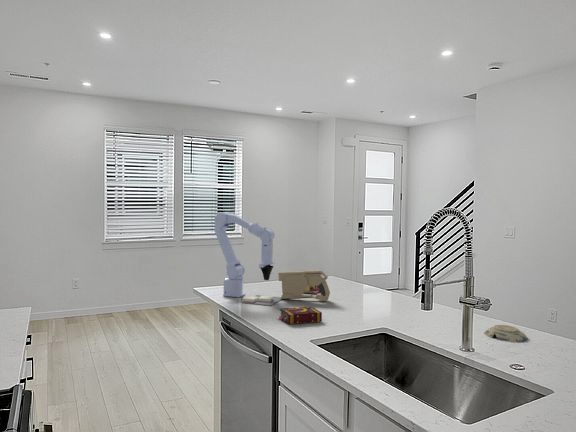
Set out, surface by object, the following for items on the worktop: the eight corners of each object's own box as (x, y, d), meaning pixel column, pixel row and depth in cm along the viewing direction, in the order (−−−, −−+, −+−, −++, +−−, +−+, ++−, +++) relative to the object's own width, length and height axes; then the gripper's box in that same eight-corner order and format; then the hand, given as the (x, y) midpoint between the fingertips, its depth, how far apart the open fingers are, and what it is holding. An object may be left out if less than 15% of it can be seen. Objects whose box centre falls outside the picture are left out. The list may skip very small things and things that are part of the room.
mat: (242, 303, 215) (242, 302, 215) (257, 295, 232) (257, 294, 232) (270, 306, 210) (270, 305, 210) (284, 298, 227) (284, 297, 227)
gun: (330, 300, 224) (328, 269, 223) (330, 301, 221) (328, 270, 220) (280, 301, 226) (279, 271, 226) (279, 303, 223) (278, 272, 223)
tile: (261, 298, 223) (258, 301, 217) (261, 295, 223) (258, 298, 217) (273, 299, 222) (269, 302, 216) (273, 296, 222) (269, 299, 216)
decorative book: (322, 322, 184) (322, 311, 184) (285, 326, 178) (285, 313, 178) (311, 316, 194) (311, 304, 194) (276, 318, 189) (276, 307, 189)
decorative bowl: (531, 336, 170) (490, 328, 180) (532, 327, 170) (490, 319, 180) (522, 346, 159) (479, 337, 168) (523, 336, 159) (479, 327, 168)
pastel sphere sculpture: (327, 294, 239) (328, 277, 239) (283, 294, 239) (284, 277, 239) (324, 285, 264) (324, 270, 264) (284, 285, 264) (284, 269, 264)
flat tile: (253, 302, 215) (253, 299, 215) (242, 301, 217) (242, 298, 217) (258, 300, 220) (258, 296, 220) (247, 299, 222) (247, 295, 222)
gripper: (268, 255, 218) (268, 283, 218) (279, 252, 231) (279, 278, 232) (255, 254, 220) (255, 281, 221) (267, 251, 234) (266, 277, 234)
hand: (266, 279), depth 226 cm, fingers closed
